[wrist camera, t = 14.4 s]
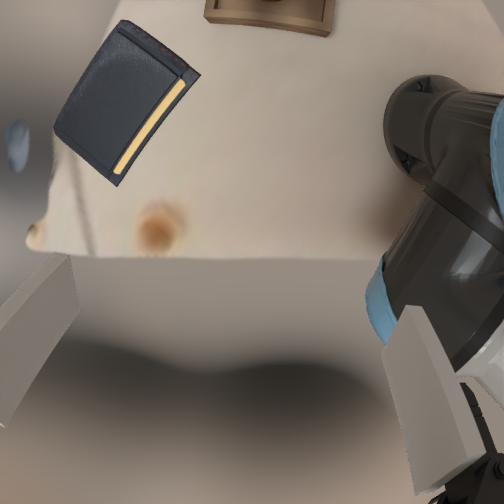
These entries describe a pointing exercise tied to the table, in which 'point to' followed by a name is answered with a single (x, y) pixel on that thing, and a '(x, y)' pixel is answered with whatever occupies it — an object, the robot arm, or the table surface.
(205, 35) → the table surface
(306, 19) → the tray
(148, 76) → the wallet
